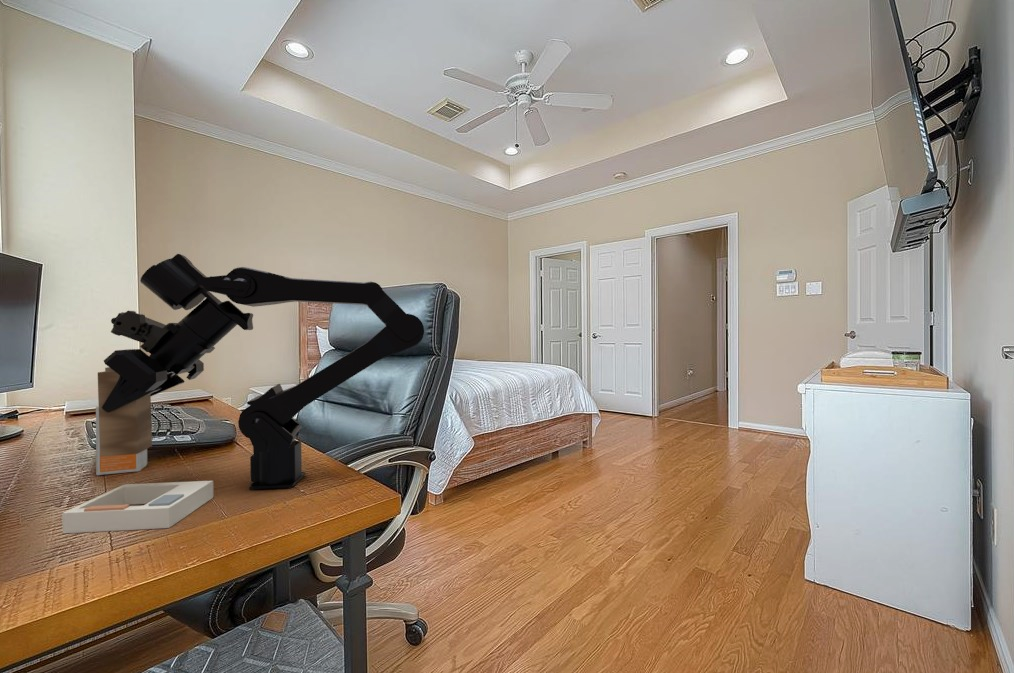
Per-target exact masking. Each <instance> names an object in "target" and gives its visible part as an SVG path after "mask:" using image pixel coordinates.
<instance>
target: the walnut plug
mask: <svg viewBox="0 0 1014 673" xmlns="http://www.w3.org/2000/svg"><path fill="white" fill-rule="evenodd" d="M119 377H120V375H119V374H118V373H116V372H115V371H114V370H112V369H111V368H110V367H108V366H107V367H105V368H104V371H99V372H97V397H98V398H97V399H98V406H99V436H100V457H104V456H117V455H129V454H138V453H140V452H142V451H144V450H146V449H147V450H148V449H150V448H152V447H153V434H152V405H151V404H152V402H151V401H152V400H151V398H152V396H151V394H149V395H147V396H145V397H142V398H140V399H138V400H136V401H134V402H131V403H129V404H127V405H125V406H122V407H120V408H118V409H116V410H113V411H111V412H106V411H104V410H103V409H102V406H103V404H104V403H105V401H106V399H107V398H108V396H109V395H110V393H111V391H112V390H113V388H114V387H115V385H116V383H117V381H118V379H119Z"/></svg>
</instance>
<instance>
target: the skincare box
mask: <svg viewBox="0 0 1014 673" xmlns="http://www.w3.org/2000/svg"><path fill="white" fill-rule="evenodd" d="M147 465H148V449H146V450H144V451H142V452H140V453H138V454H129V455H117V456H104V457H100V436H99V405H97V406H96V407H95V468H96V469H95V475H96V476H103V475H115V474H122V473H123V474H124V473H126V474H127V473H137V472H140V471H142V470H143V469H144V468H145V467H147Z"/></svg>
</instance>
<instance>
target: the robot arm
mask: <svg viewBox="0 0 1014 673" xmlns="http://www.w3.org/2000/svg"><path fill="white" fill-rule="evenodd" d="M140 283H141V284H142V285H143V286H144V287H145V288H147V289H149V291H150V292H152V293H153V294H154V295H155V296H156V297H158V299H160V300H161V301H162V302H163V303H165V304H166V305H167V306H169V307H170V308H171V309H172V310H174V311H177V310H180V309H184V310H185V311H188V310H189V311H190V310H191V311H190V312H188V313H187V314H186V315H185V316H184V317H183V318H182V319H181V320H179V321H178V322H169V323H167V324H164V323H162V322H161V321H160V322H159V321H157V320H154V319H152V318H149V317H146V314H143V313H141V314H140V313H137V311H135V310H126V311H125V312H123V311H122V312H119V313H118V314H117V316H116V317H112V318H111V320H110V324H112V329H111V331H110V333H112V334H113V335H116V336H118V337H119V336H123V337H124V338H128V339H131V340H133V341H136V342H138V343H142V344H141V345H140V346H139V348H136V349H135V348H132V349H131V348H130V349H129V348H128V349H117V350H114V351H113V352H112V353H111V354H110V355H108V356H107V357H106V358H105V359H104V360H103V362H104V365H105V366H107V367H110V368H111V369H112V370H114V371H115V372H116V373H118V374H119V375H120V377H119V379H118V381H117V383H116V385H115V387H114V388H113V390H112V391H111V393H110V395H109V396H108V398H107V399H106V401H105V403H104V404H103V406H102V409H103V410H104V411H106V412H111V411H113V410H116V409H118V408H120V407H122V406H125V405H127V404H129V403H131V402H134V401H136V400H138V399H140V398H142V397H145V396H147V395H149V394H151V397H153V396H155V395H158V394H161V393H163V392H165V391H167V390H170V389H172V388H174V387H177V386H179V385H182V384H184V383H185V380H184V379H183V378H182V377H181V376H179V375H180V374H185V373H188V374H187V376H186V378H187V380H189V381H192V380H194V379H196V378H198V376H200V375H201V374H202V373H203V372H204V371H205V368H204V366H205V365H204V364H205V363H204V362H203V361H201V360H200V359H201V358H202V357H203V356H205V355H206V354H211V353H212V352H213V351H214V350H215V349H216V347H215V346H216V344H218V343H219V342H220V341H221V340H223V338H224V337H226V336H227V335H228V334H229V333H230V332H231V331H232V330H233V329H234V328H235V327H237V325H238V326H239V327H240V328H241V329H242V330H244V331H252V330H253V329H254V324H253V323H254V322H253V317H254V313H251V312H246V313H245V312H244V311H242V310H241V309H239V308H238V307H237V306H236V305H235V304H238V305H243V306H248V307H252V308H253V307H254V308H255V307H263V306H264V307H266V306H273V305H274V306H275V305H281V304H285V303H295V302H297V303H299V302H300V303H317V304H318V303H319V304H336V305H337V304H338V305H339V304H342V305H357V306H358V305H359V306H361V305H362V306H367V307H368V308H369V309H370V311H372V313H373V314H375V316H376V317H377V318H378V319H379V320H380V321H381V322H382V323H383V324H384V325H385V326H384V327H383V328H382V329H381V330H380V331H378V332H377V333H376V334H374V336H373V337H372V338H370V339H369V340H368V341H367V342H365V343H364V344H363V343H362V345H361V346H359V347H357V348H356V349H354V350H352V351H350V352H349V353H347V354H346V355H343V356H342V357H341V358H339V359H338V360H336V361H334V362H332V363H331V364H329V365H328V366H325V367H324V368H322V369H321V370H319V371H318V372H315V373H314V374H313V375H311V376H309V377H308V378H306V379H305V380H303V381H301V382H299V383H298V384H296V385H293V386H291V387H289V388H285V389H283V388H282V385H281V383H278V384H276V385H274V386H273V387H271V388H269V389H268V390H267V391H266V392H265V393H263V394H260V395H257V396H255V397H254V398H252V399H250V400H248V401H247V402H246V404H247V405H249V406H248V407H246V408H244V409H243V410H242V411H241V413H240V414H239V417H238V420H237V421H238V422H237V423H238V429H239V431H240V432H241V434H242V436H244V437H245V438H247V439H249V441H250V442H251V443H250V444H251V446H252V448H253V450H252V452H253V454H252V455H251V456H250V458H249V461H250V463H249V464H250V466H249V467H250V482H251V484H249V485H248V489H249V490H264V489H265V490H267V489H283V488H284V489H285V488H293V487H294V486H295V485H296V484H297V483H298V482H299V481H300V480H301V479H302V478H304V477H305V476H306V471H302V466H303V465H302V462H303V461H302V441H301V440H296V439H297V438H299V434H300V432H301V429H302V424H300V423H299V422H298V421H297V420H296V419H294V417H295V416H296V415H297V414H298V413H300V412H301V411H302V410H303V409H304V408H305V407H306V406H309V404H311V403H313V402H314V401H316V400H317V399H319V398H320V397H322V396H323V395H326V394H328V393H329V392H330V391H332V390H334V389H335V388H337V387H338V386H340V385H341V384H343V383H345V382H346V381H348V380H349V379H351V378H353V377H354V376H355V375H358V374H359V373H360V372H363V371H364V370H366V369H367V368H369V367H370V366H372V365H374V364H376V363H377V362H378V361H380V360H382V359H386V358H387V357H388V358H389V357H391V356H392V355H396V354H399V353H401V352H404V351H406V350H409V349H411V348H413V347H416V346H418V344H420V342H421V341H422V340H423V339H424V334H425V326H424V324H423V321H422V320H421V319H420V318H419V317H418V316H416V315H414V314H410V313H406V312H405V311H404V310H403V308H401V306H400V305H398V304H397V303H396V302H395V300H393V298H391V297H390V296H389V295H388V294H387V293H386V291H384V290H383V287H382V286H381V285H380V284H379V283H377V282H374V281H366V282H362V281H361V282H358V281H345V280H344V281H343V280H342V281H341V280H328V279H327V280H326V279H312V278H310V279H309V278H296V277H294V278H293V277H288V276H284V275H280V274H278V273H277V274H276V273H272V272H269V271H266V270H265V271H264V270H261V269H255V268H250V267H246V266H241V267H239V266H238V267H236V268H235V267H234V268H233V269H232V270H230V272H228V273H227V274H225V275H216V276H215V275H214V276H206V275H205V274H204V273H203V272H202V271H201V270H199V269H198V268H197V267H196V266H195V265H194V264H193V262H192V261H191V259H189V258H187V256H185V255H184V254H181V253H176V254H175V255H174V256H173V257H171V258H167V259H164V260H162V261H160V262H159V263H157V264H156V265H155V264H153V265H151V266H150V267H149V268H148V269H147V270H145V272H143V274H142V276H141V277H140ZM213 293H215V294H220V295H223V296H226V297H227V298H228V299H229V300H225V301H221V300H220V299H219V298H218V297H217V296H215V295H214V294H213ZM231 301H232V302H233V303H232V302H231ZM234 303H235V304H234ZM140 348H141V349H140ZM144 351H145V352H146V353H145V352H144ZM147 353H149V354H150V355H148V354H147Z"/></svg>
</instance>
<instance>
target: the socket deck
mask: <svg viewBox="0 0 1014 673" xmlns="http://www.w3.org/2000/svg"><path fill="white" fill-rule="evenodd" d="M213 498H214V480H198V481H197V480H196V481H195V480H194V481H192V480H191V481H173V482H170V481H169V482H150V483H147V482H145V483H127V484H126V483H125V484H122V485H120V486H118V487H115V488H113V489H112V490H109V491H106V492H105V493H102V494H101V495H99V496H96V497H94V498H92V499H90V500H87V501H85V502H83V503H81V504H78V505H76V506H75V507H72V508H70V509H68V510H66V511H64V512H62V513H61V514H62V516H61V517H62V522H61V524H62V534H77V533H78V534H79V533H80V534H81V533H94V532H95V533H97V532H100V533H101V532H116V531H134V530H135V531H137V530H154V529H155V530H157V529H169V528H171V527H172V526H174V525H176V524H177V523H178V522H180V521H182V520H183V519H185V518H186V517H188V515H191V513H193V512H194V511H196V510H197V509H199V508H201V507H202V506H203V505H205V504H206V503H208V502H209V501H211V500H212V499H213ZM143 504H144V505H143Z"/></svg>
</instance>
